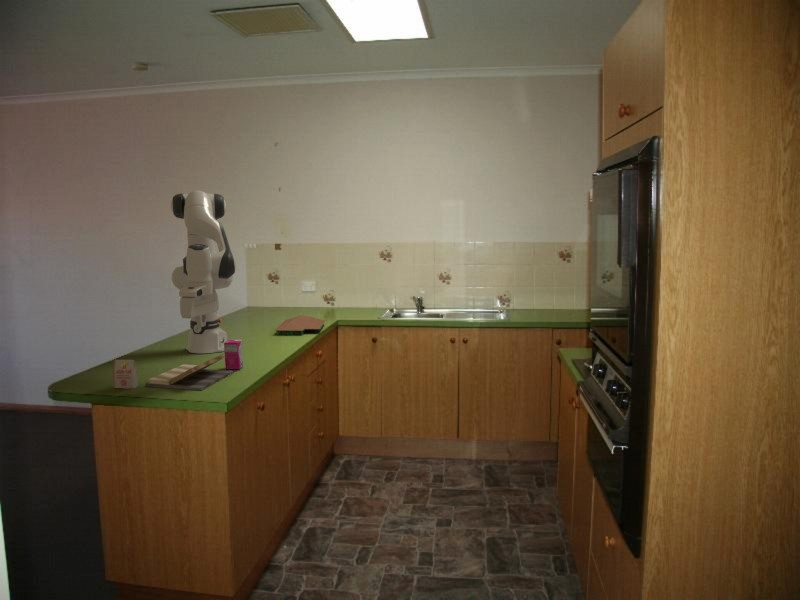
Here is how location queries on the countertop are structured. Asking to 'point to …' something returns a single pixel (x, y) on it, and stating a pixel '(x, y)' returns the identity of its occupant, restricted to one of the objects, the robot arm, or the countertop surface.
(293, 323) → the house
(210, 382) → the floor board
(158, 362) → the countertop surface
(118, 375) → the white food carton
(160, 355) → the countertop surface
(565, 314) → the countertop surface
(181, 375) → the walnut plank
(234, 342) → the supplement box
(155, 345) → the countertop surface
